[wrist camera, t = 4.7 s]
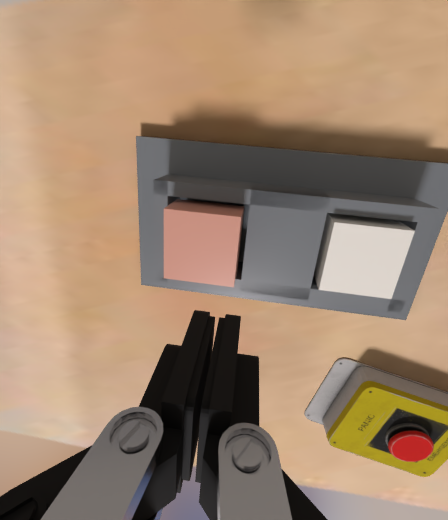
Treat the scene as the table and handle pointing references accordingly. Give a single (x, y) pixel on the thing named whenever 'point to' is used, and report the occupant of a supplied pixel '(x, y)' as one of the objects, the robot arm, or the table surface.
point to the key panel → (289, 214)
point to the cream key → (361, 255)
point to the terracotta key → (202, 242)
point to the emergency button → (383, 417)
